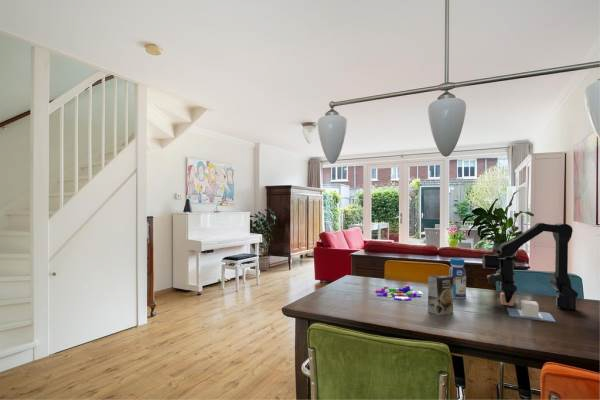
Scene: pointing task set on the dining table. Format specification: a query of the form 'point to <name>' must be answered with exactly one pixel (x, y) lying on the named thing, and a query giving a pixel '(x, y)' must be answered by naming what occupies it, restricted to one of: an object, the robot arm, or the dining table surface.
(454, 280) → the beverage bottle
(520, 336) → the dining table surface
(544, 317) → the board
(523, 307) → the cream block
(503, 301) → the terracotta block
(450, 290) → the coffee box
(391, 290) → the building block set
